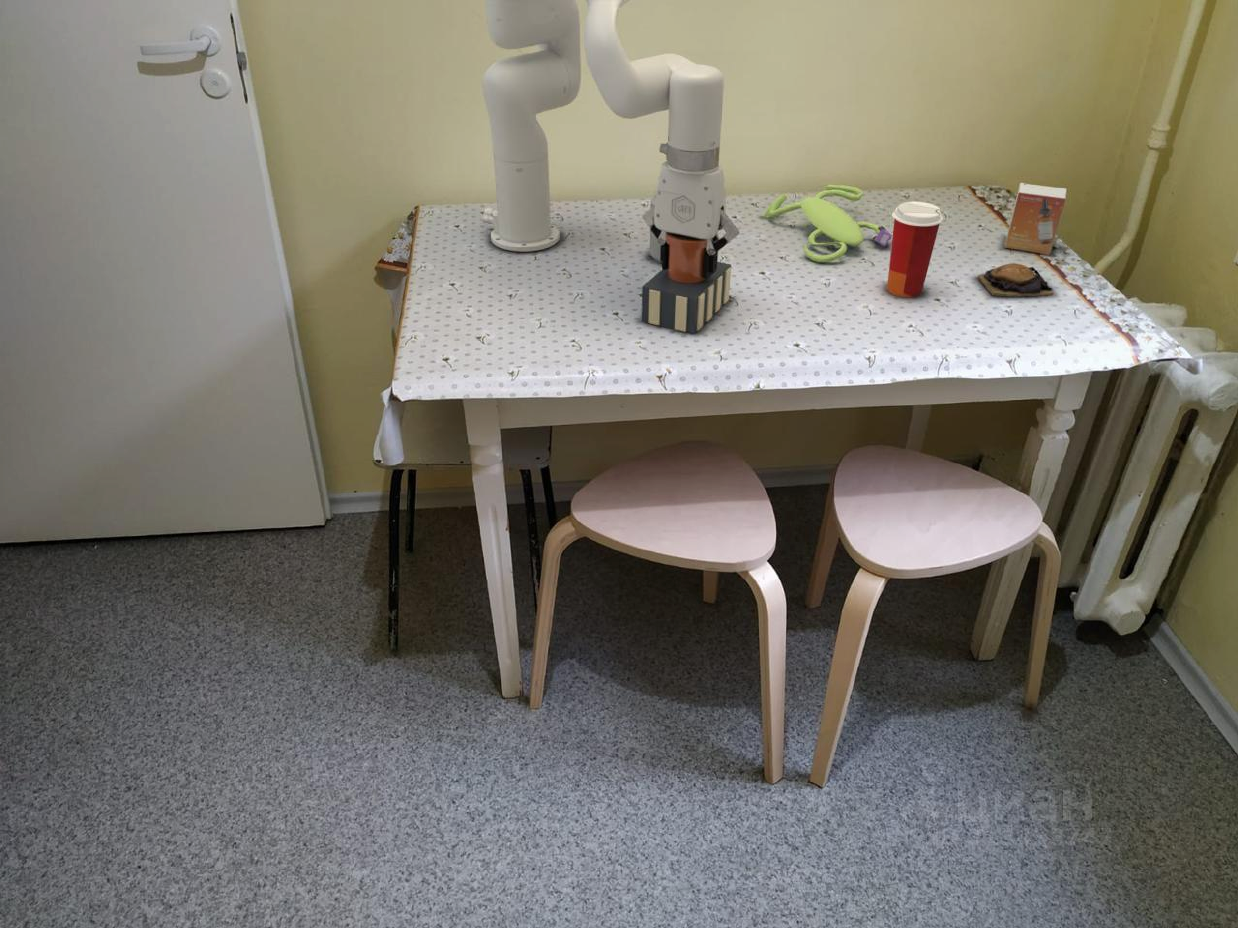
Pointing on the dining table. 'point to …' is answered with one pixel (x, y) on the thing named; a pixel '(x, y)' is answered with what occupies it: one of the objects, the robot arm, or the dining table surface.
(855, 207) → the dining table surface
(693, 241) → the terracotta pot
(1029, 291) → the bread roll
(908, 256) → the paper cup
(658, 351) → the dining table surface
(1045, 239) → the small box
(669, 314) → the dark grey striped block
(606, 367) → the dining table surface
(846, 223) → the figurine
